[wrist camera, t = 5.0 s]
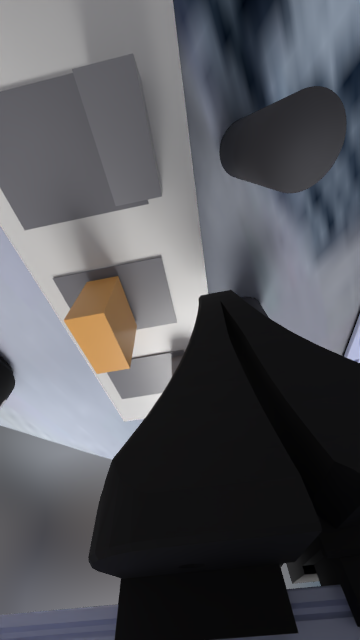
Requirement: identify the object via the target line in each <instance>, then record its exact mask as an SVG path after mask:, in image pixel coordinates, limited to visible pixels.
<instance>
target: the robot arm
mask: <svg viewBox="0 0 360 640" xmlns="http://www.w3.org/2000/svg"><path fill="white" fill-rule="evenodd" d="M198 300H199V306H198V313H197V317H196V321H195V325H194V329H193V332H192V334H191V337H190V340H189V343H188V345H187V348H186V350H185V352H184V355H183V357H182V359H181V361H180V363H179V365H178V367H177V369H176V371H175V372H174V374H173V376H172V378H171V380H170V381H169V383H168V385H167V386H166V388H165V390H164V391H163V393H162V394H161V396H160V397H159V399H158V400H157V402H156V403H155V404H154V406H153V407H152V409H151V410H150V412H149V413H148V415H147V416H146V418H145V419H144V420H143V422H142V423H141V424H140V426H139V427H138V428H137V429H136V431H135V432H134V433H133V434H132V436H131V437H130V438H129V439H128V441H127V442H126V443H125V444H124V446H123V447H122V448H121V450H120V451H119V452H118V453H117V454H116V456H115V457H114V458H113V460H112V462H111V465H110V468H109V471H108V474H107V477H106V480H105V484H104V488H103V491H102V494H101V497H100V501H99V506H98V510H97V515H96V521H95V526H94V532H93V536H92V542H91V547H90V553H89V563H90V564H91V566H92V568H93V569H95V570H97V571H100V572H103V573H106V574H109V575H113V576H116V577H119V578H121V584H120V594H119V603H118V605H105V606H94V607H83V608H72V609H60V610H50V611H38V612H27V613H16V614H4V615H0V640H360V315H359V318H358V320H357V323H356V326H355V328H354V331H353V334H352V336H351V339H350V342H349V344H348V347H347V350H346V352H345V355H344V356H341V355H339V354H337V353H334V352H332V351H329V350H327V349H325V348H323V347H321V346H318V345H316V344H314V343H312V342H310V341H308V340H306V339H304V338H302V337H300V336H298V335H297V334H295V333H293V332H291V331H289V330H287V329H286V328H284V327H282V326H281V325H279V324H278V323H276V322H274V321H273V320H271V319H269V318H268V317H266V316H265V315H264V314H262V313H261V312H259V311H258V310H256V309H255V308H254V307H252V306H251V305H250V304H248V303H247V302H246V301H245V300H243V299H242V298H241V297H240V296H238V295H237V294H236V293H234V292H233V291H232V290H228V291H223V292H217V293H212V294H206V295H201V296H200V297H199V298H198ZM283 563H286V564H287V567H288V571H289V574H290V578H291V581H292V583H304V582H315V581H320V584H321V586H320V587H308V588H296V589H286V586H285V582H284V579H283V575H282V571H281V566H282V565H283Z"/></svg>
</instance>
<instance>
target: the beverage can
mask: <svg viewBox="0 0 360 640" xmlns="http://www.w3.org/2000/svg"><path fill="white" fill-rule="evenodd" d="M14 386H15V379H14V376H13V372H12V369H11V367H10V366H9V365H8V363H7V362H6V361H5V360H4V359H2V358H1V357H0V409H1V407H2V406H3V404H4V403H5V401H6V400H7V398H8V397H9V395H10V393H11V392H12V390H13V389H14Z"/></svg>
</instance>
